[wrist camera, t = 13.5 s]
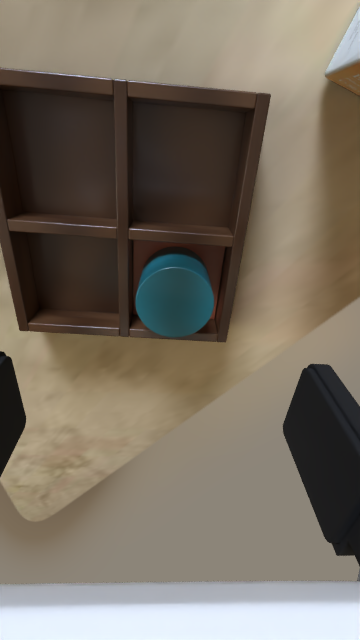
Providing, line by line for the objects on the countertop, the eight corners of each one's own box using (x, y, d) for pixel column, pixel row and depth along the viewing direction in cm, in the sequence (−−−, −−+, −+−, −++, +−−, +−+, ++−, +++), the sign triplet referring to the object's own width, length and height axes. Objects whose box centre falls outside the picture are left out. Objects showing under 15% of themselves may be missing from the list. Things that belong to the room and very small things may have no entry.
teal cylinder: (141, 306, 20) (134, 335, 17) (142, 243, 18) (135, 264, 15) (204, 310, 21) (209, 340, 17) (212, 248, 19) (219, 270, 15)
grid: (34, 311, 21) (19, 331, 19) (-8, 75, 15) (-40, 63, 13) (221, 322, 22) (226, 342, 20) (258, 100, 15) (271, 93, 13)
